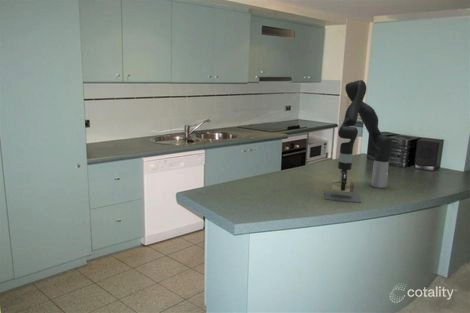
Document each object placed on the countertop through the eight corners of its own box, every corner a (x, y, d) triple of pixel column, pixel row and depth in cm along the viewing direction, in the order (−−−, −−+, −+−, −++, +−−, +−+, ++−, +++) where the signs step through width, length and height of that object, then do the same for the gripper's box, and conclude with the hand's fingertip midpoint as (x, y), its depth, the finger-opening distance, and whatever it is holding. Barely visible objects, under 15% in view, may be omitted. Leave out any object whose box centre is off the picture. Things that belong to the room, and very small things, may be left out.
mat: (358, 195, 243) (358, 194, 243) (361, 203, 229) (361, 202, 229) (324, 192, 247) (324, 191, 247) (325, 199, 233) (325, 198, 233)
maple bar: (331, 188, 241) (332, 180, 240) (352, 190, 238) (353, 182, 237) (331, 190, 236) (332, 182, 235) (353, 192, 234) (354, 184, 233)
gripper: (338, 157, 241) (335, 185, 245) (339, 163, 227) (336, 192, 231) (351, 158, 240) (348, 186, 243) (353, 164, 226) (350, 193, 230)
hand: (342, 189), depth 237 cm, fingers closed on maple bar, 4 cm apart
